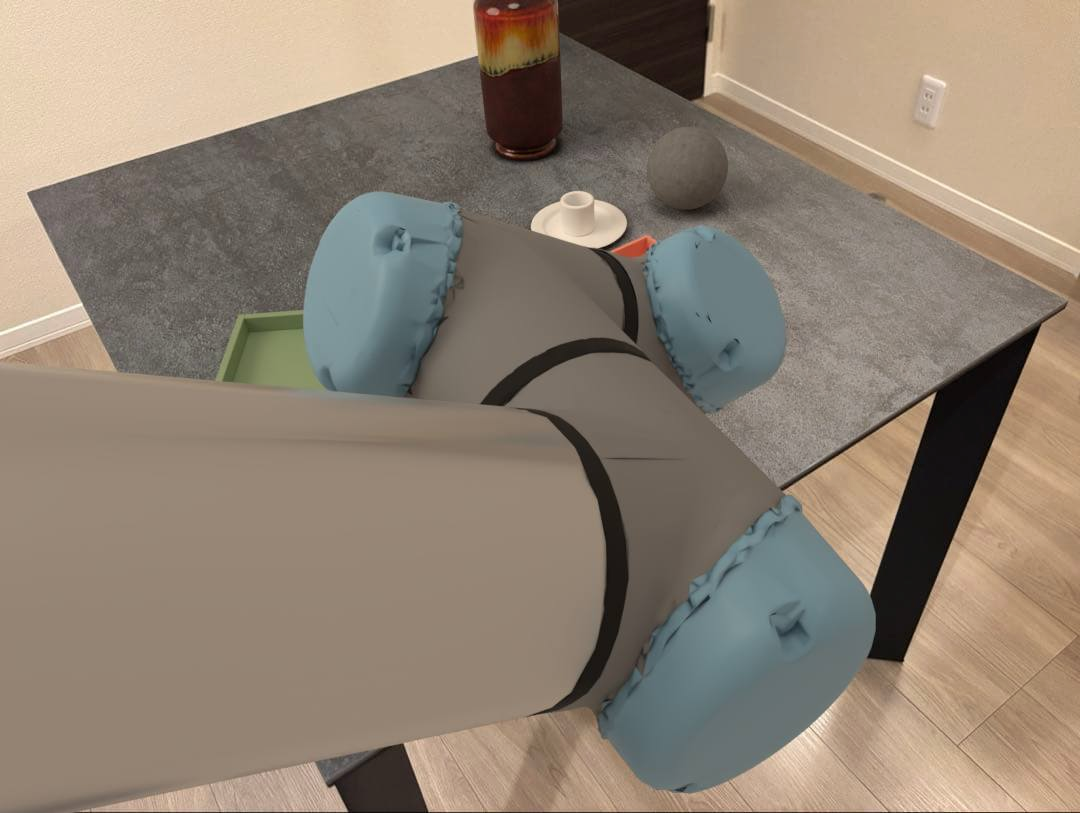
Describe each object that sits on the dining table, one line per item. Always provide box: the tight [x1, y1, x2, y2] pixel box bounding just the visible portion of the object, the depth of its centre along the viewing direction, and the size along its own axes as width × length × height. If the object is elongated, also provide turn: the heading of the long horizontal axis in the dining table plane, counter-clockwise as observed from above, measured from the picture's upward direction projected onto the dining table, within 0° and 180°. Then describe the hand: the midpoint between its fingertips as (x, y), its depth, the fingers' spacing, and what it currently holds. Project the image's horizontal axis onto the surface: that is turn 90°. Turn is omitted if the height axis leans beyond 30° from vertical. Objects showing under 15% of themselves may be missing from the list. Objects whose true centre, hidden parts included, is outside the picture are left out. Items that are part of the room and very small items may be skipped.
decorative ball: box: [646, 126, 729, 211], centre depth 103 cm, size 10×10×10 cm
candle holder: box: [530, 190, 628, 249], centre depth 103 cm, size 12×12×4 cm
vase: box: [472, 0, 563, 162], centre depth 111 cm, size 11×11×26 cm
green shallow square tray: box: [214, 309, 330, 391], centre depth 87 cm, size 14×14×3 cm
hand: (333, 525), depth 61 cm, fingers closed on drinking glass, 7 cm apart
